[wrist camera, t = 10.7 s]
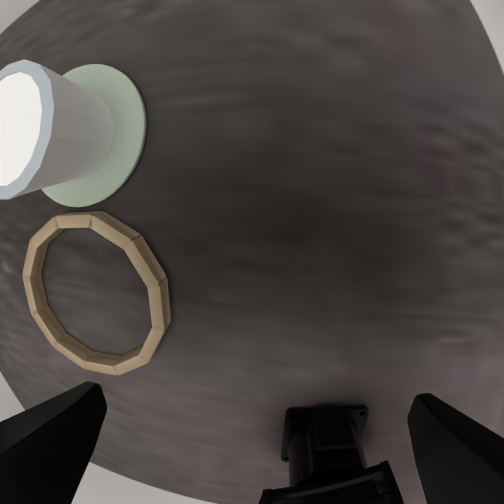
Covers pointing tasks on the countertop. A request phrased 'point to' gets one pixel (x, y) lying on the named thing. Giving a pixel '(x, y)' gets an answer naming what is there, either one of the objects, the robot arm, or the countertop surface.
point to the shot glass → (48, 129)
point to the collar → (140, 260)
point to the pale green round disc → (124, 137)
